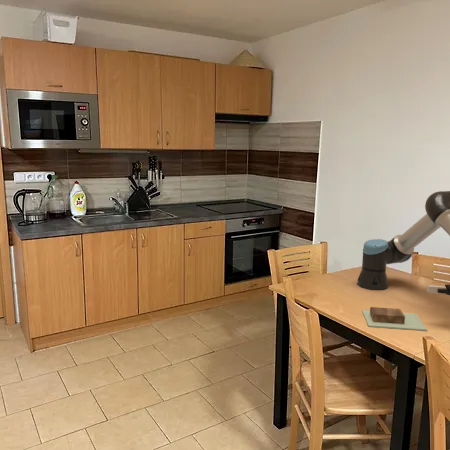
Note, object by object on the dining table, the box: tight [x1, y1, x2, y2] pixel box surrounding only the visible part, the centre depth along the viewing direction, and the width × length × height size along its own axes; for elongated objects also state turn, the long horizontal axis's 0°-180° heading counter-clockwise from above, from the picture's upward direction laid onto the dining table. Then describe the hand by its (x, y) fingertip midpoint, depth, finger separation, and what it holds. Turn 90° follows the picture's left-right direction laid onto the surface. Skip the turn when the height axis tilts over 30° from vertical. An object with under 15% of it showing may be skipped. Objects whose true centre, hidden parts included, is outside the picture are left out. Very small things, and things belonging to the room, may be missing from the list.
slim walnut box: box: [369, 306, 405, 323], centre depth 174 cm, size 3×8×12 cm
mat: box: [361, 309, 428, 332], centre depth 174 cm, size 22×16×1 cm
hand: (428, 289), depth 171 cm, fingers closed
